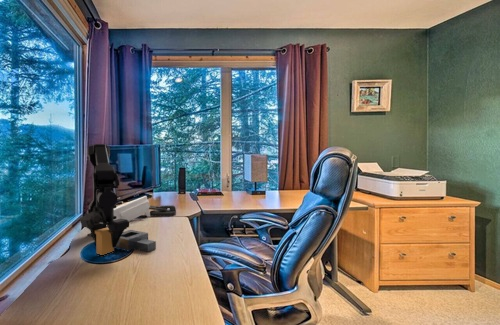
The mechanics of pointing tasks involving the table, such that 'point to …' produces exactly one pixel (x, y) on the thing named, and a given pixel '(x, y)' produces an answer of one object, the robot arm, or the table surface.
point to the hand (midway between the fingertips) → (105, 245)
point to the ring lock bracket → (135, 241)
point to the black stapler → (163, 210)
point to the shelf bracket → (133, 209)
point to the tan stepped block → (103, 241)
